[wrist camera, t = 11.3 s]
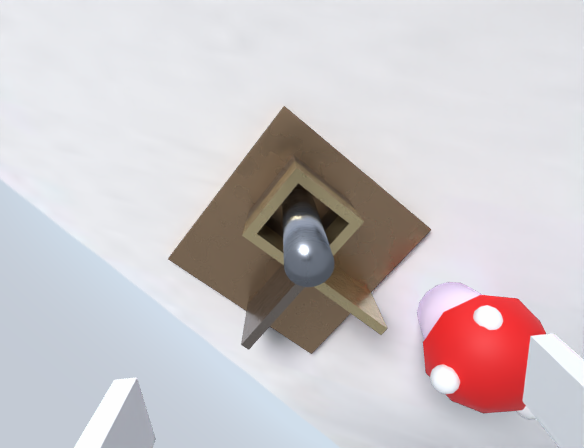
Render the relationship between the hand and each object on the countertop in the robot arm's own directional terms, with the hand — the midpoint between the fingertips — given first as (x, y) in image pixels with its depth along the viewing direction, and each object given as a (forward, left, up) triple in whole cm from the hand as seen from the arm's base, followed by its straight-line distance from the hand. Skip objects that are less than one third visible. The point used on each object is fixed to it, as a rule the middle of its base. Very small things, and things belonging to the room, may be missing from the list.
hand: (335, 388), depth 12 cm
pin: (0, 0, -23) cm, 23 cm away
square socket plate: (+3, +2, -24) cm, 24 cm away
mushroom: (-1, +20, -24) cm, 31 cm away
